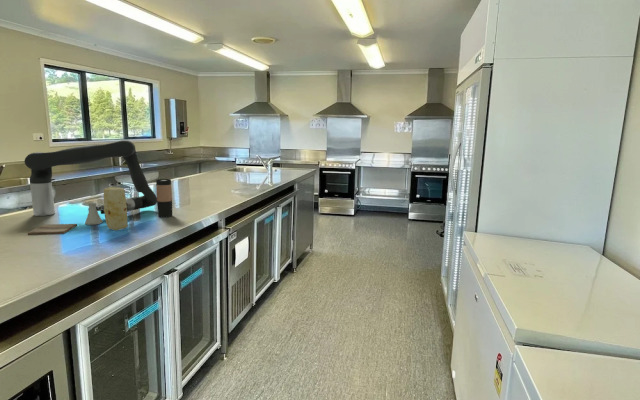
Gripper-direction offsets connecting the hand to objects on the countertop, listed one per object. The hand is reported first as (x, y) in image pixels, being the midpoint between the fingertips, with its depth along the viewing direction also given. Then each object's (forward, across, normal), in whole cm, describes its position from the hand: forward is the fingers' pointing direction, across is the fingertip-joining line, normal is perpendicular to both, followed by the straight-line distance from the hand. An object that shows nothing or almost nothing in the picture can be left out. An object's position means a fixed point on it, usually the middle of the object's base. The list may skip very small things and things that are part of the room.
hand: (95, 211), depth 182 cm
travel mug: (-27, +18, +6) cm, 33 cm away
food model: (+4, +19, +6) cm, 20 cm away
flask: (+1, 0, +6) cm, 6 cm away
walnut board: (+18, -4, +6) cm, 19 cm away
